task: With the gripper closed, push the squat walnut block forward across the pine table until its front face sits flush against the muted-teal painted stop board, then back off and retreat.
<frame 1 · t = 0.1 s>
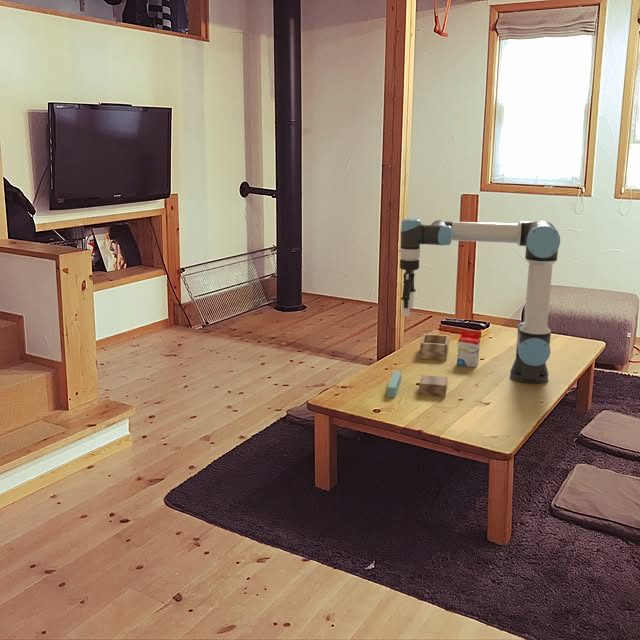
hand: (407, 312, 310), 28 cm above the table, fingers open, 13 cm apart
block: (433, 392, 303), on the table
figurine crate: (434, 354, 351), on the table
ink box: (467, 365, 337), on the table
board: (394, 388, 306), on the table
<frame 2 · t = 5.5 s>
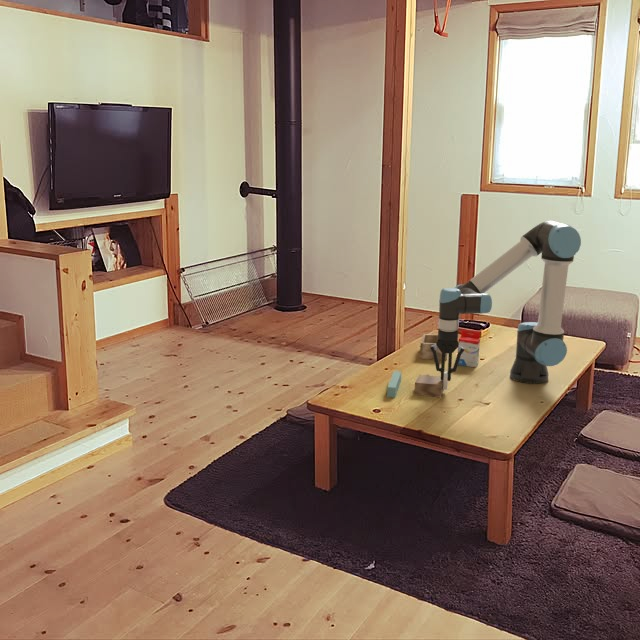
hand: (445, 388, 301), 2 cm above the table, fingers closed
block: (429, 391, 303), on the table
everything else where it was.
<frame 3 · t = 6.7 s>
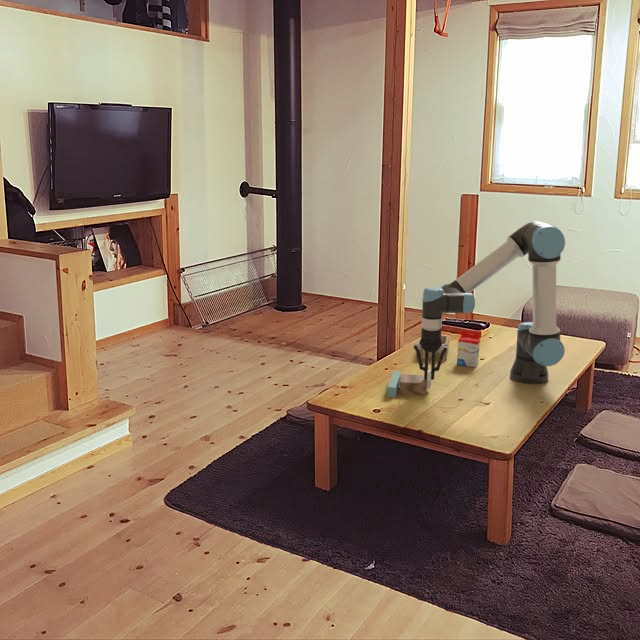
hand: (428, 387, 303), 2 cm above the table, fingers closed
block: (413, 391, 304), on the table, touching gripper
everything else where it was.
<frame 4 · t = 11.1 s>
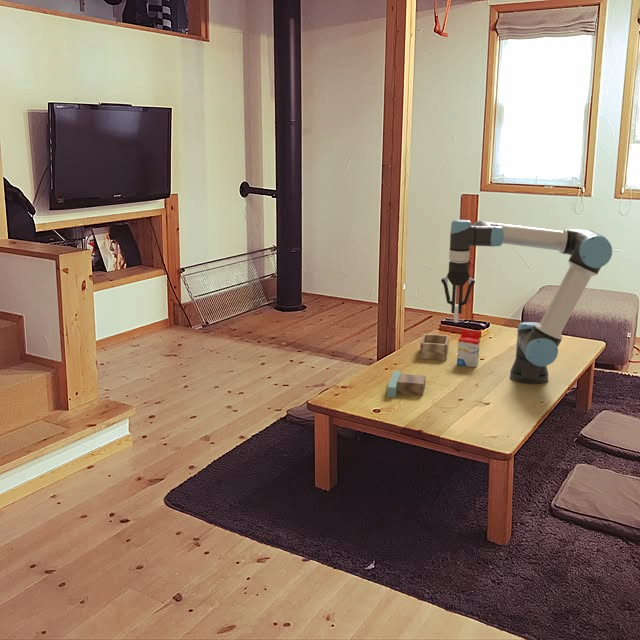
hand: (455, 321, 302), 26 cm above the table, fingers closed
block: (411, 391, 304), on the table
everything else where it was.
at the end: block inside the target area on the table beside the board (0.2 cm from its centre), on the table; block tilted 0° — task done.
